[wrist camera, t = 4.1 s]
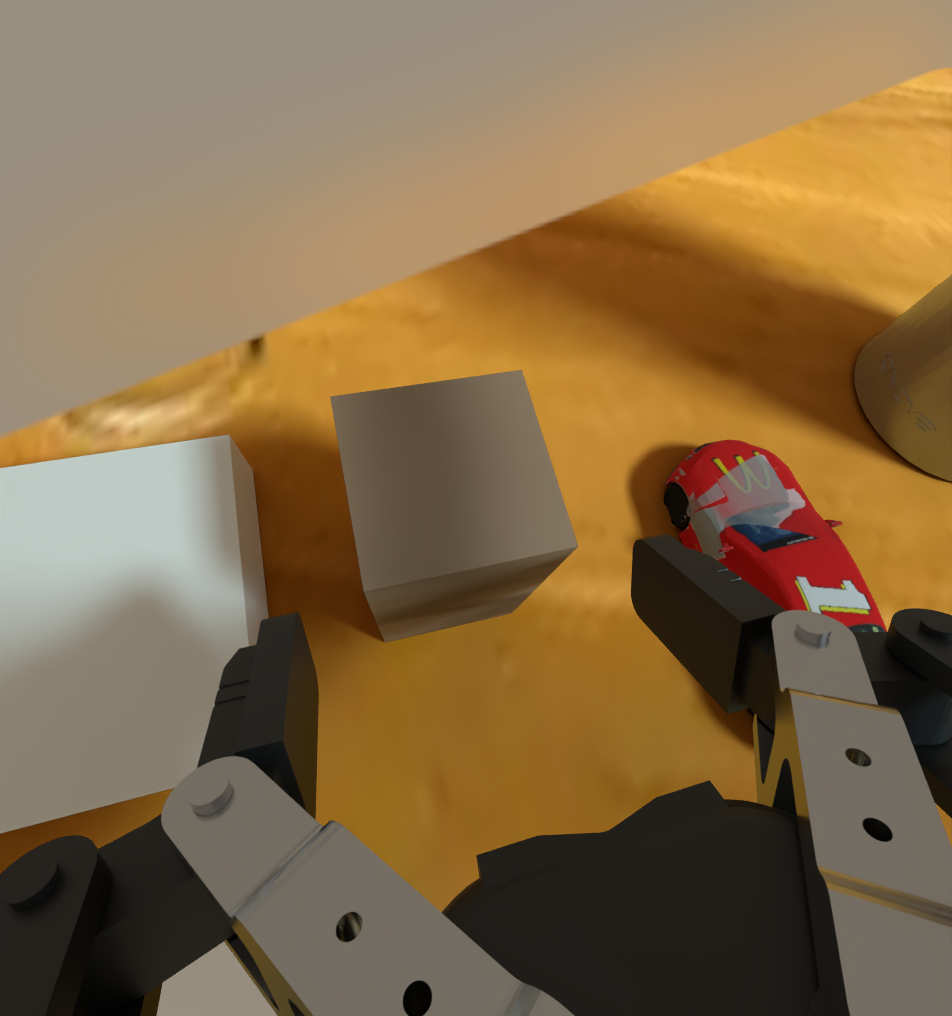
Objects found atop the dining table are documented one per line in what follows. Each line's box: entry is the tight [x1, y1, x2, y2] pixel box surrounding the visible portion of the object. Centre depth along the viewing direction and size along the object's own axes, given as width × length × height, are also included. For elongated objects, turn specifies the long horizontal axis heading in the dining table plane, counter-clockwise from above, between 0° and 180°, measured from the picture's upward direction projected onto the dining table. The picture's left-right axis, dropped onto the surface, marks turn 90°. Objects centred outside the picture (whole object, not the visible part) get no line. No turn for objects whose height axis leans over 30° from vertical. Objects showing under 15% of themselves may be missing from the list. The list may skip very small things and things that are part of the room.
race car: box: [664, 440, 887, 715], centre depth 20 cm, size 13×5×4 cm, turn 13°
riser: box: [0, 435, 269, 834], centre depth 17 cm, size 11×11×3 cm
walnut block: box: [330, 370, 578, 642], centre depth 17 cm, size 5×5×9 cm
